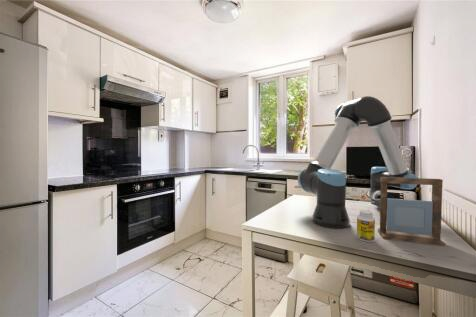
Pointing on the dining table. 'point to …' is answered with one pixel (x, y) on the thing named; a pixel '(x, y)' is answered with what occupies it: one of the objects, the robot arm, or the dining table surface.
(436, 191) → the gate frame
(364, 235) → the supplement bottle
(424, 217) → the panel
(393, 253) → the dining table surface
